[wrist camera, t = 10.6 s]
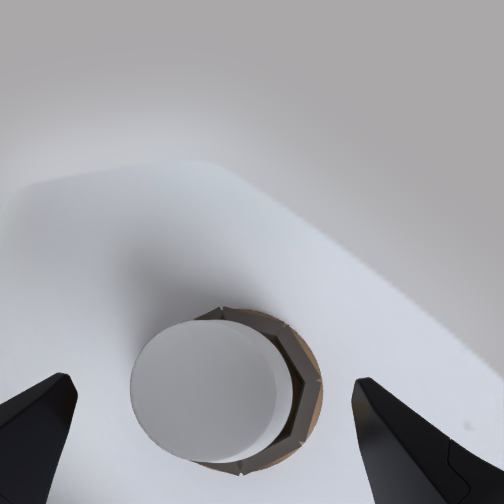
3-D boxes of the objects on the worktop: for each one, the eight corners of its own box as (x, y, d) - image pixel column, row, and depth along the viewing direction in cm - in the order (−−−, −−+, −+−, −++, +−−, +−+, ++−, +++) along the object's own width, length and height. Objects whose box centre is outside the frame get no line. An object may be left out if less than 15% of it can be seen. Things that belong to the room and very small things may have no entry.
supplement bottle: (197, 339, 17) (130, 279, 9) (288, 353, 17) (315, 307, 8) (180, 425, 15) (93, 451, 6) (274, 443, 14) (285, 500, 6)
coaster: (203, 493, 13) (193, 507, 11) (129, 355, 17) (111, 348, 15) (351, 417, 15) (364, 420, 13) (267, 283, 19) (267, 267, 17)
